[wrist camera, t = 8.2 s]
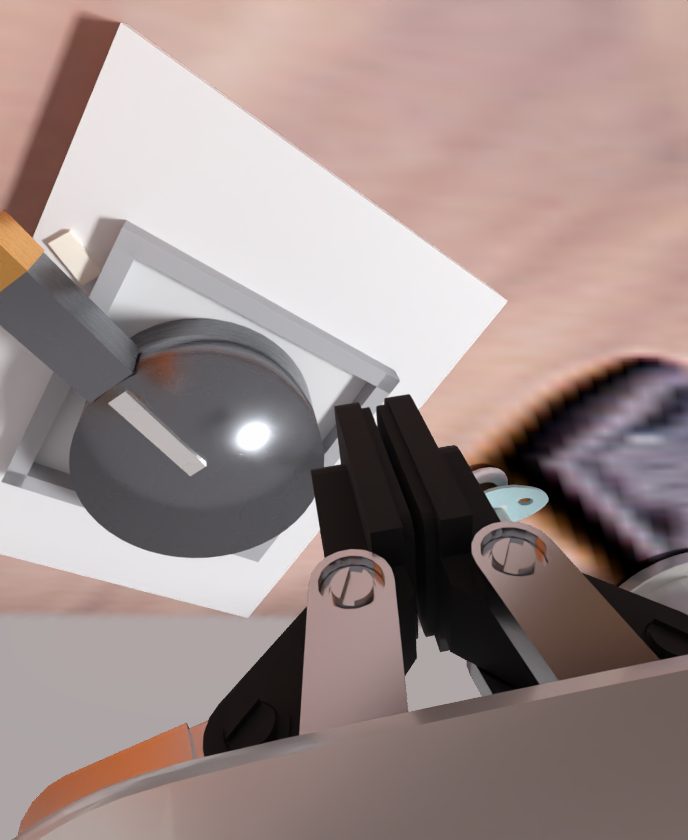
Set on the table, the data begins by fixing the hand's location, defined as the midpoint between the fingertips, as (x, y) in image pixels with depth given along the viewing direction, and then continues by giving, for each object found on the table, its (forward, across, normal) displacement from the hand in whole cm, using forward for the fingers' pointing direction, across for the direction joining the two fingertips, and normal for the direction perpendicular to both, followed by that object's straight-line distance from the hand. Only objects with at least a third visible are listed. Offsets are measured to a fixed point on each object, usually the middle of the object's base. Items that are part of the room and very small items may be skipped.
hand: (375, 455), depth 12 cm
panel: (+14, +6, +6) cm, 17 cm away
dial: (+13, +7, +3) cm, 15 cm away
